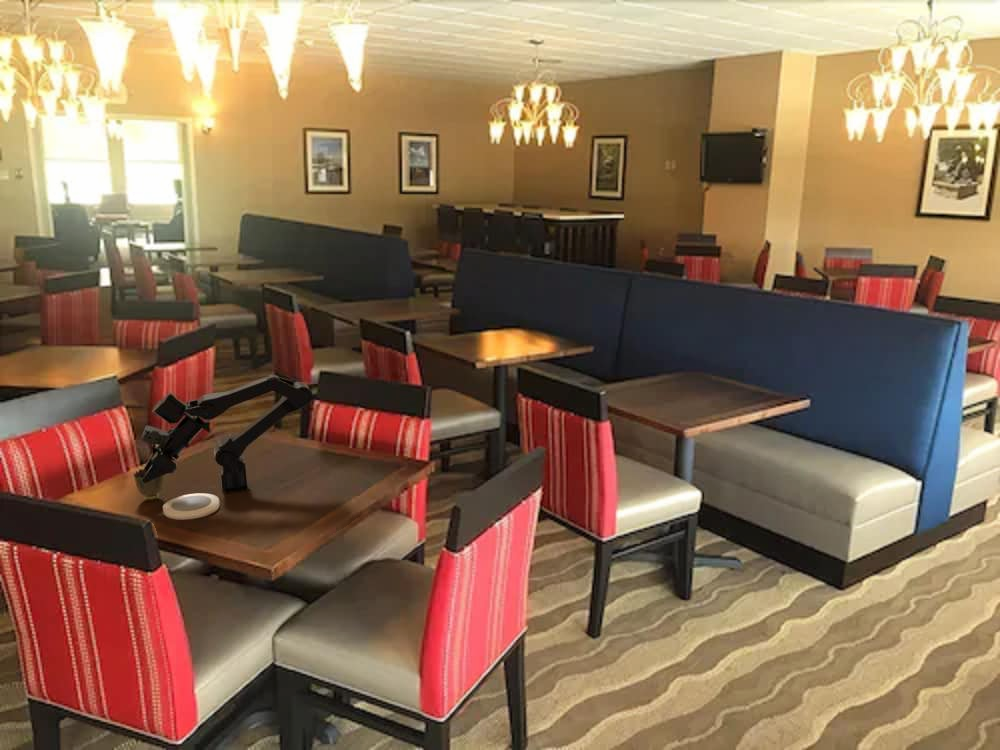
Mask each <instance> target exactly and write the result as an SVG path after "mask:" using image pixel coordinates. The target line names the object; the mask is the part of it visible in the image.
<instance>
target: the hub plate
mask: <svg viewBox="0 0 1000 750" xmlns="http://www.w3.org/2000/svg"><path fill="white" fill-rule="evenodd" d="M218 509H220V499H219V497H218V496H217V495H214V494H211V493H206V492H205V493H203V492H201V493H188V494H184V495H180V496H177V497H173V498H171V499H170V500H168V501H166V502H165V503H164V504H163V505H162V513H163V515H164V516H165V517H166V518H168V519H171V520H179V521H180V520H182V521H183V520H184V521H185V520H186V521H187V520H194V519H199V518H204V517H207V516H208V515H209V516H210V515H211V514H213V513H215V512H216V511H218Z"/></svg>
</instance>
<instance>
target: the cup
mask: <svg viewBox="0 0 1000 750" xmlns="http://www.w3.org/2000/svg"><path fill="white" fill-rule="evenodd" d="M143 469H144V468H143ZM143 469H142V468H140V469H139V470H138V471H137V470H136V471H135V473H133V477H134V481H135V485H136V488H137V491H138V492H139V494H140V495H141V496H144V497H143V499H144V500H145V501H147V502H153V501H156V500H158V499H159V497H160V495H159V494H160V492H162V490H163V487H164V475H163V476H160V477H158V478H156V479H153V480H151V481H149V482H147V483H144V482H142V479H143V478H144V476H145V475H146V473H147V472H148V471H146V470H145V469H144V470H143Z"/></svg>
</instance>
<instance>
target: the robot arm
mask: <svg viewBox="0 0 1000 750" xmlns="http://www.w3.org/2000/svg"><path fill="white" fill-rule="evenodd" d="M271 392H274V393H276V394H279V395H280V396H281V398H279V401H277V402H276V403H275V404H273V406H271V407H270V408H269V409H267V410H266V411H264V413H262V414H261V415H260V416H259V417H257V418H256V419H255V420H253V421H252V422H251V423H250V424H249V425H247V426H246V427H245V428H243V429H242V430H241V431H239V432H238V433H235V434H233V435H232V434H231V432H227V433H226V434H225V435H224V436H223V437H222V438H220V439H217V440H216V444H215V446H214V448H213V454H214V459H215V462H216V464H218V465H219V466H221V469H222V470H221V471H220V473H219V474H220V475H219V476H220V482H221V483H220V484H221V489H222V490H223V492H224V493H225V494H226V493H234V492H241V491H248V490H249V484H248V477H247V475H248V474H247V466H246V461H245V457H244V453H245V450H247V448H248V447H249V446H250V445H251V444H252V443H253V442H254V441H256V440H257V439H259V437H261V436H262V435H264V434H265V433H266V432H268V430H270V429H271V428H273V427H274V425H276V424H277V423H279V422H280V421H281V420H282V419H283V418H285V417H286V416H288V415H290V414H291V413H294V412H297V411H299V410H302V409H303V408H306V407H307V406H308V405H310V404H311V403H312V402H313V401H312V400H313V392H312V390H311V389H310V388H309V386H308V385H307V384H306V383H305V382H301V381H292V380H290V379H287V378H284V377H280V376H278V375H276V374H268V375H267V376H266V377H262V378H261V379H257V380H255V381H251V382H249V383H246V384H244V385H242V386H238V387H235V388H232V389H230V390H228V391H222V392H221V391H220V392H219V391H218V392H212V393H207V394H203V395H201V396H200V397H198V399H194V400H190V401H185V402H183V401H182V400H180V398H177V396H175V394H174V393H172V392H169V393H168V394H167V395H165V396H164V397H162V398H160V399H159V400H158V402H157V403H156V404H155V405H154V406H153V409H152V411H151V412H152V413H154V414H155V415H156V416H158V417H159V418H160V419H162V420H163V421H165V422H166V423H168V424H169V425H170V424H176V425H175V426H174V427H172V428H169V429H168V430H167V431H166V430H163V429H160V428H158V427H155V426H151V425H145V427H144V430H143V432H142V434H141V441H142V442H145V443H151V444H152V445H151V451H152V453H151V455H150V457H149V459H148V461H147V462H146V463H145V466H144V467H143V469H142V470H144V469H145V470H146V471H148V472H147V473H146V475H145V476H144V478H143V479H142V482H144V483H147V482H149V481H151V480H153V479H156V478H158V477H160V476H163V477H164V475H167V474H170V475H173V473H174V472H175V471H176V470H177V469H178V467H177V459H179V457H180V454H181V453H182V452H183V451H184V449H188V448H189V446H190V443H192V441H193V440H194V439H195V437H197V435H198V434H200V432H201V431H202V430H204V431H206V432H207V433H210V432H211V428H210V427H211V426H210V425H211V420H214V419H215V418H218V417H219V416H220V415H222V414H224V413H225V412H227V411H228V410H229V409H230V408H232V407H234V406H237V405H239V404H243V403H245V402H247V401H250V400H252V399H255V398H259V397H260V396H263V395H266V394H269V393H271Z"/></svg>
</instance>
